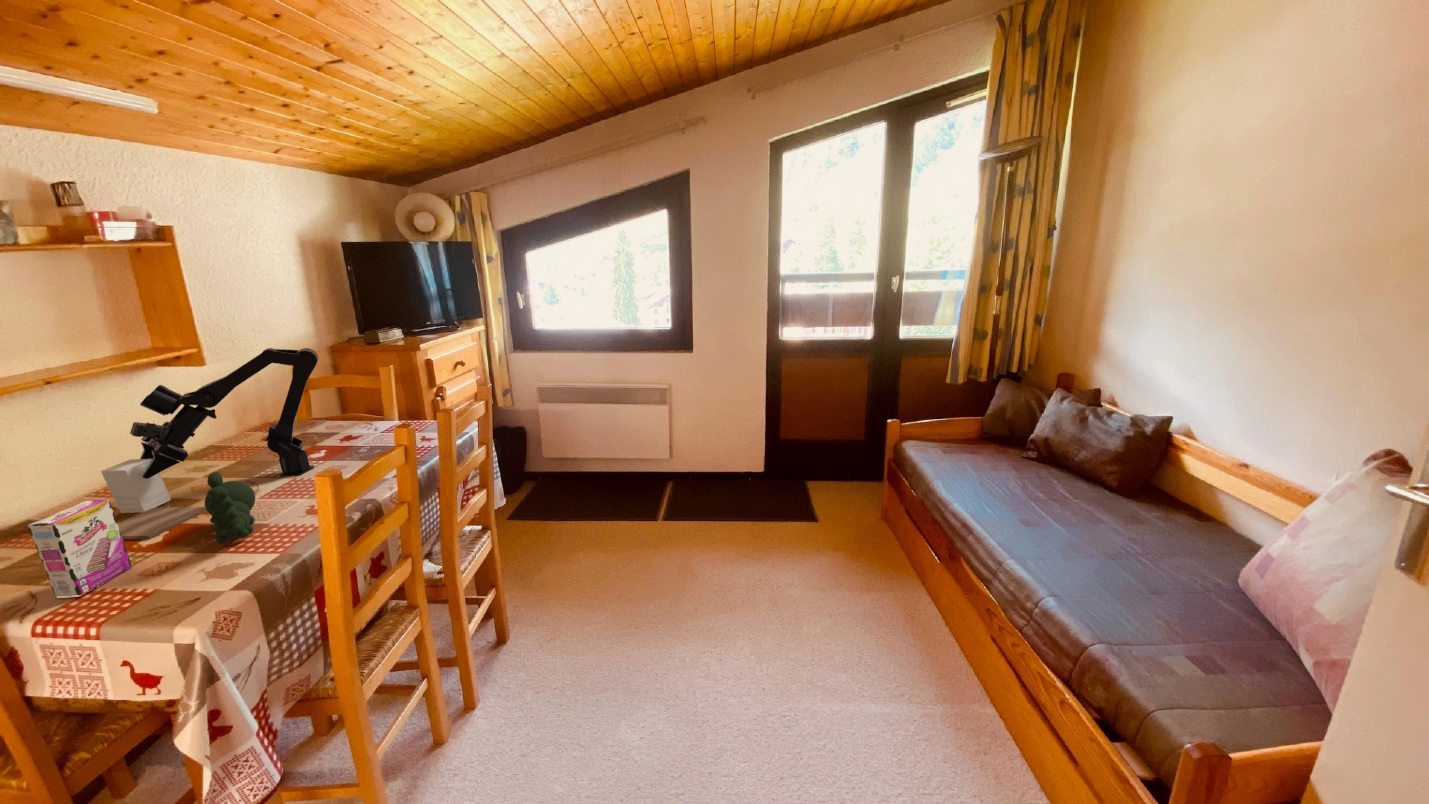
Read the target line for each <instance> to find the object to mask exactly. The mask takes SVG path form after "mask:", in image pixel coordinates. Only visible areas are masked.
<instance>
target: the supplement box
mask: <svg viewBox="0 0 1429 804" xmlns="http://www.w3.org/2000/svg"><path fill="white" fill-rule="evenodd" d="M152 460H153V459H140V458H135V459H133V458H132V459H128V460H125V461H123V462H120V463H118V464H115V465H113V466H111V467H107V468H105V469H103V470H101V471H100V472H101V475H102V477H103V478H104V481H105V482H106V485H107V488H108V489H109V491H110V493H111V495H112V498H113V500H114V501H115V504H116V506H117V508H118V510H119V513H120V514H130V513H131V514H135V513H137V514H140V513H142V512H144V511H147V510H149V509H151V508H158V507H159V506H161V505H163V504H165V503H167V502H170V501H171V500H172V498H171V496H170V493H169V491H168V489H167V487H166V485H165V482H164V480H163V478H162V475H161V472H159V473H158V474H156V475H154V476H152V477H150V478H148V479H146V478H143V475H144V473H145V471H146V470H147V468H148V467H149V465H150V463H151V462H152Z"/></svg>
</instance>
